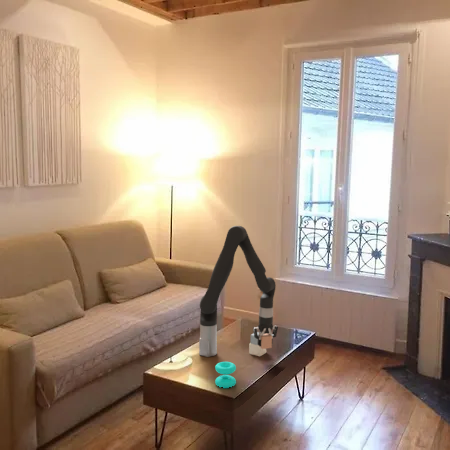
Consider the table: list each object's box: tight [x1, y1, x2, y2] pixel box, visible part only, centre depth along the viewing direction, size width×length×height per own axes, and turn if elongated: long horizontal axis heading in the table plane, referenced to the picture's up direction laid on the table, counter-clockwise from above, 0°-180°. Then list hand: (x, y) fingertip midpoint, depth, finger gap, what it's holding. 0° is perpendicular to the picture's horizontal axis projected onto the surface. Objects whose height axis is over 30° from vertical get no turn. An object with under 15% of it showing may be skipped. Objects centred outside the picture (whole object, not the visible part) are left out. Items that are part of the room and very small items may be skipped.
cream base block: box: [248, 342, 267, 357], centre depth 275 cm, size 7×7×6 cm
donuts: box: [214, 361, 237, 389], centre depth 235 cm, size 10×10×10 cm
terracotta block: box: [258, 333, 273, 350], centre depth 264 cm, size 6×6×6 cm
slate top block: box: [250, 331, 259, 345], centre depth 274 cm, size 6×6×5 cm
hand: (264, 345), depth 264 cm, fingers closed on terracotta block, 5 cm apart
